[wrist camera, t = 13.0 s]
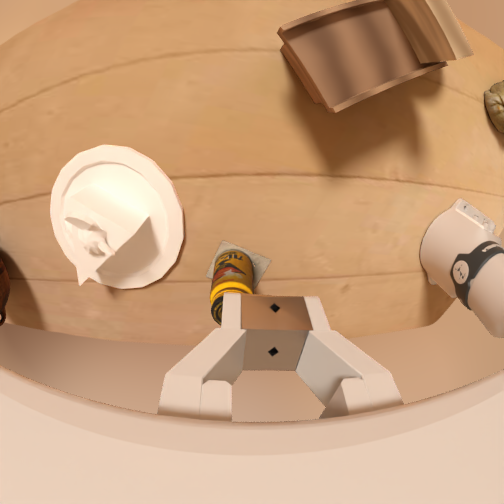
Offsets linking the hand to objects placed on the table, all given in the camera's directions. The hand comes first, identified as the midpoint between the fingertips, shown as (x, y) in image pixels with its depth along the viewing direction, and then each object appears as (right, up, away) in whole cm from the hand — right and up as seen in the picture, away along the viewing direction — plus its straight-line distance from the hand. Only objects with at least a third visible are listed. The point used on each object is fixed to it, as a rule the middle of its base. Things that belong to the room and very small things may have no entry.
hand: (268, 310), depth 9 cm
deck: (+12, +29, +20) cm, 37 cm away
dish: (-23, +7, +31) cm, 40 cm away
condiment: (-3, -1, +36) cm, 36 cm away
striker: (+19, +28, +10) cm, 35 cm away
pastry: (+49, +31, +21) cm, 62 cm away
